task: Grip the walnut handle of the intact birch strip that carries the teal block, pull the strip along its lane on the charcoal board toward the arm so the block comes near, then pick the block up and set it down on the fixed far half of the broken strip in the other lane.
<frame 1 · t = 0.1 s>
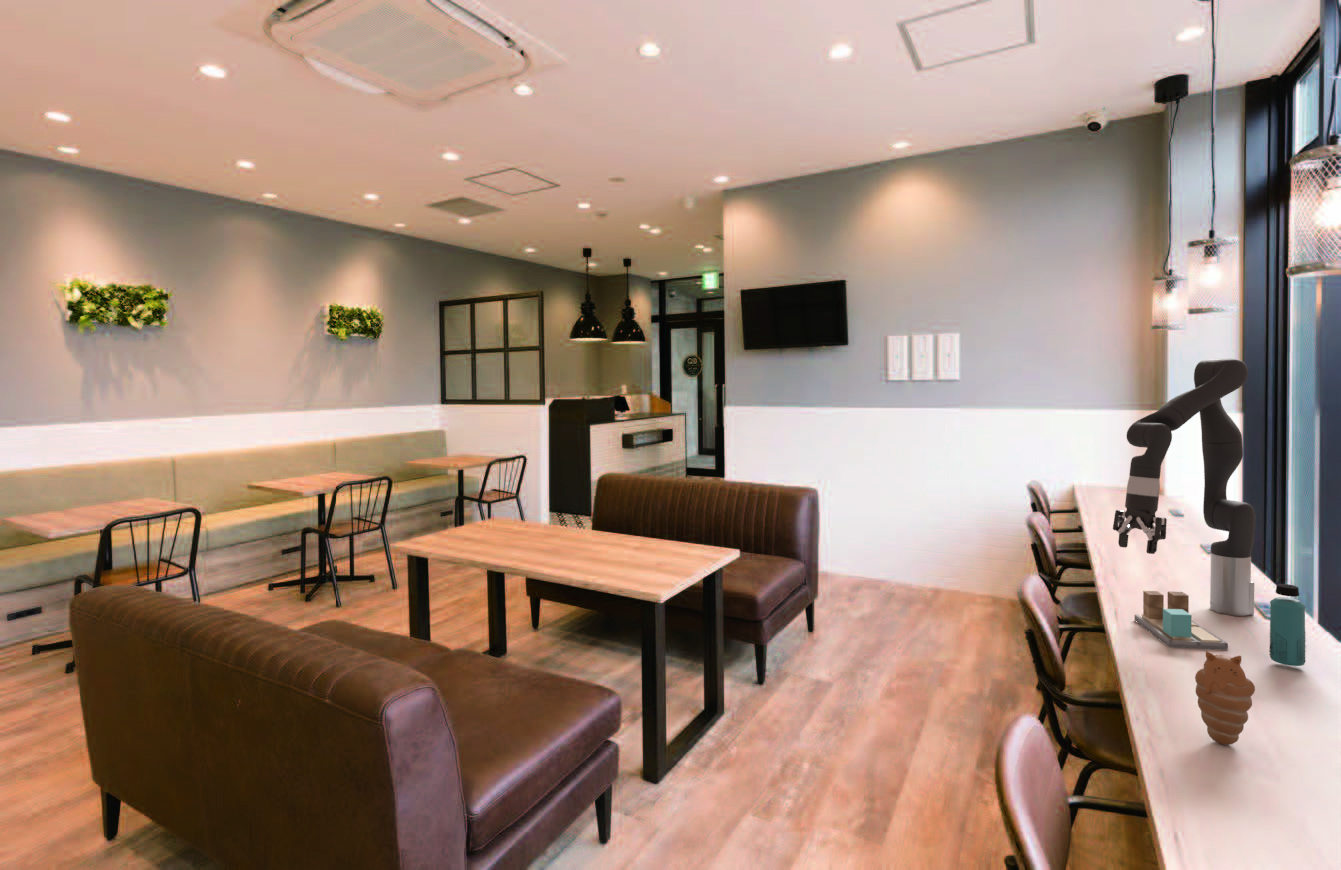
hand: (1136, 550, 189), 22 cm above the counter, tool pointing down, fingers open, 8 cm apart
teal cube: (1176, 633, 178), point 2 cm above the counter, touching cube strip
cat ice cream: (1223, 744, 129), on the counter
beverage bottle: (1286, 667, 161), on the counter
short strip: (1180, 609, 188), point 5 cm above the counter, slide at 0.0 cm
cube strip: (1165, 615, 184), point 5 cm above the counter, slide at 0.0 cm, touching teal cube
lane board: (1178, 634, 183), on the counter
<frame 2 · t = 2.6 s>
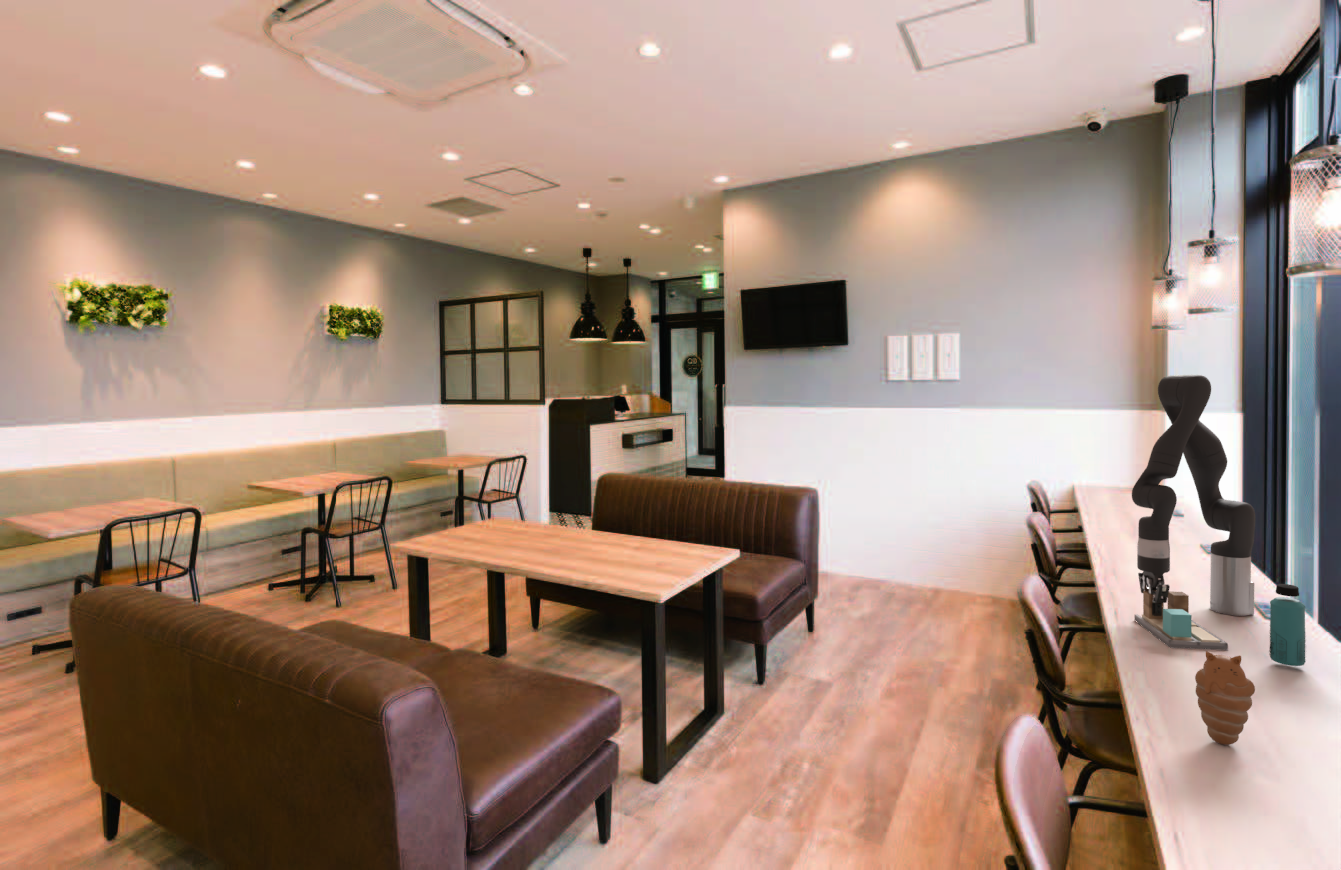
hand: (1153, 612, 191), 4 cm above the counter, tool pointing down, fingers closed on cube strip, 3 cm apart
cube strip: (1165, 615, 184), point 5 cm above the counter, slide at 0.0 cm, touching gripper, teal cube
everything else where it was.
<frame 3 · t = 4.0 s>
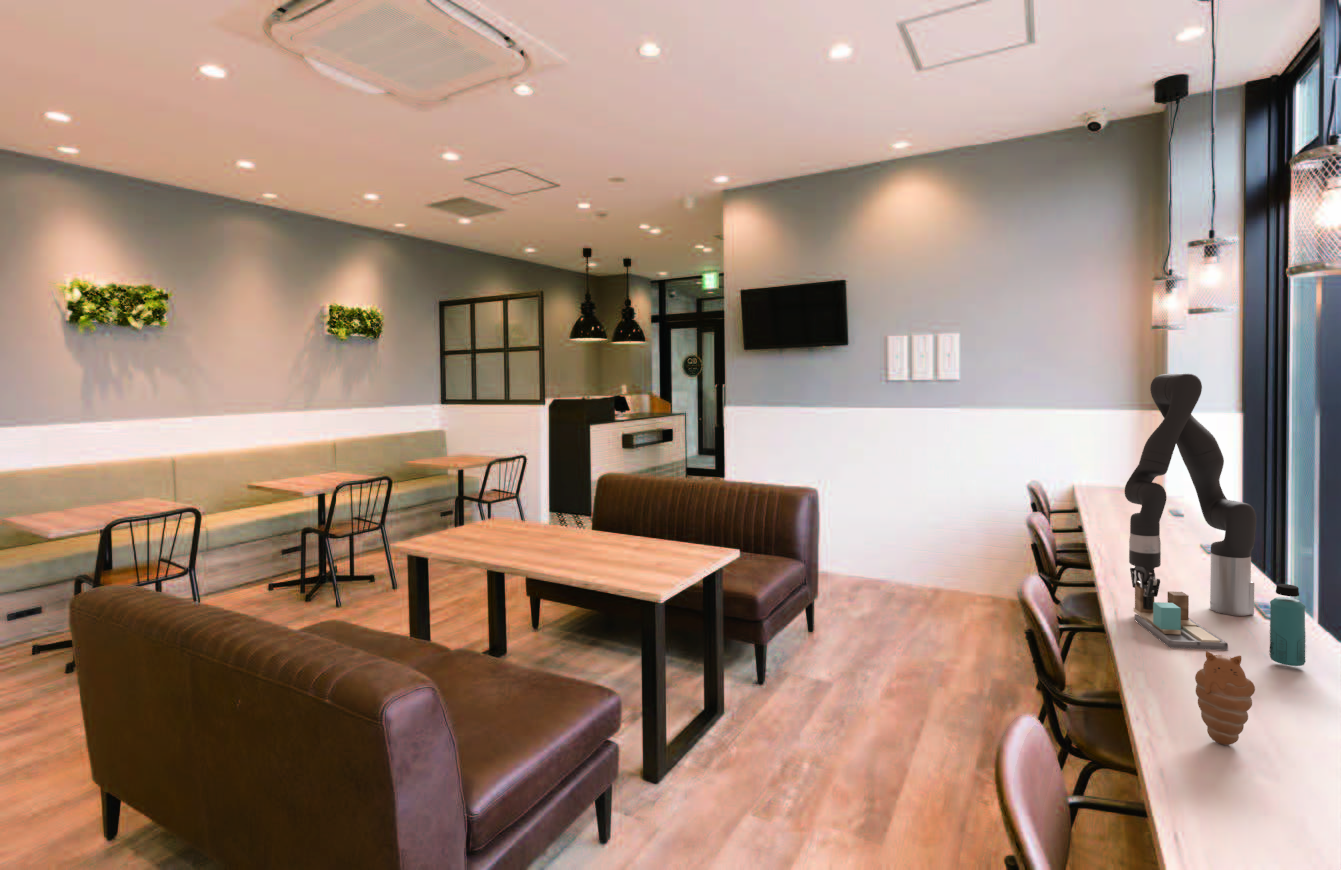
hand: (1144, 606, 196), 4 cm above the counter, tool pointing down, fingers closed on cube strip, 3 cm apart
teal cube: (1166, 626, 183), point 2 cm above the counter, touching cube strip
cube strip: (1156, 608, 189), point 5 cm above the counter, slide at 5.6 cm, touching gripper, teal cube
everything else where it was.
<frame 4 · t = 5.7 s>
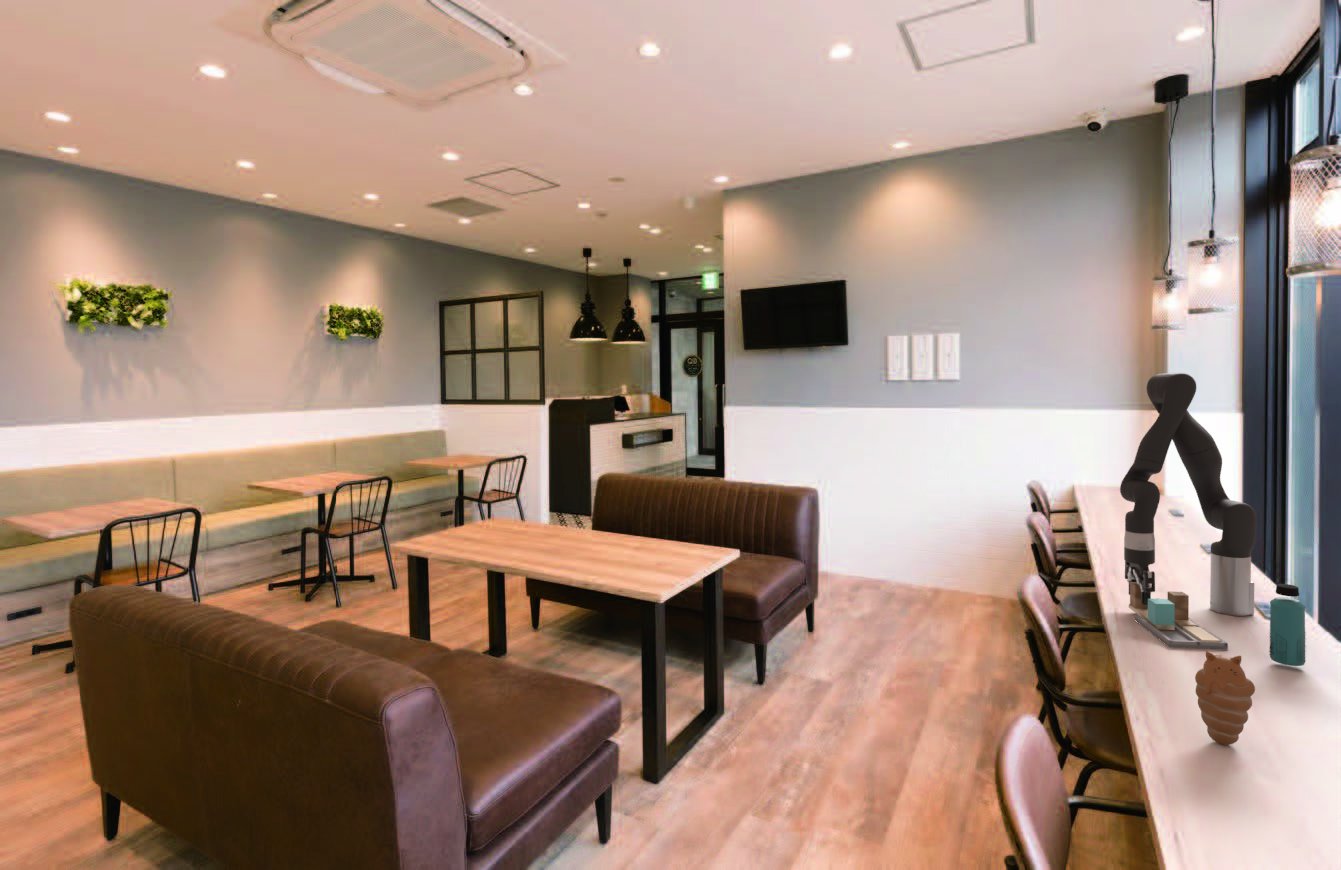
hand: (1139, 599, 200), 4 cm above the counter, tool pointing down, fingers open, 8 cm apart
teal cube: (1160, 622, 187), point 2 cm above the counter, touching cube strip
cube strip: (1150, 604, 193), point 5 cm above the counter, slide at 8.9 cm, touching teal cube
everything else where it was.
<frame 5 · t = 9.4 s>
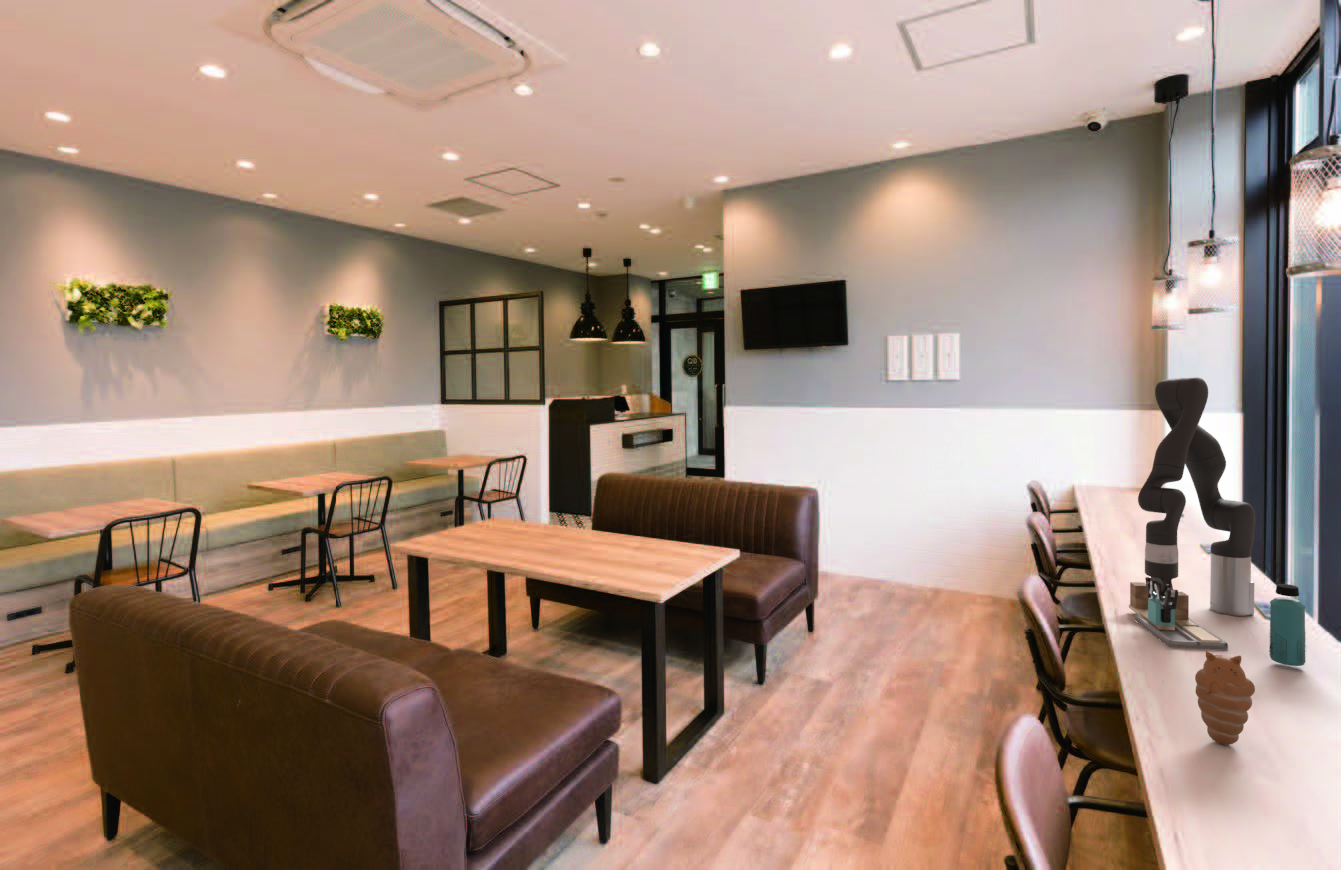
hand: (1161, 618, 186), 3 cm above the counter, tool pointing down, fingers closed on teal cube, 4 cm apart
teal cube: (1161, 622, 186), point 2 cm above the counter, touching cube strip, gripper
everything else where it was.
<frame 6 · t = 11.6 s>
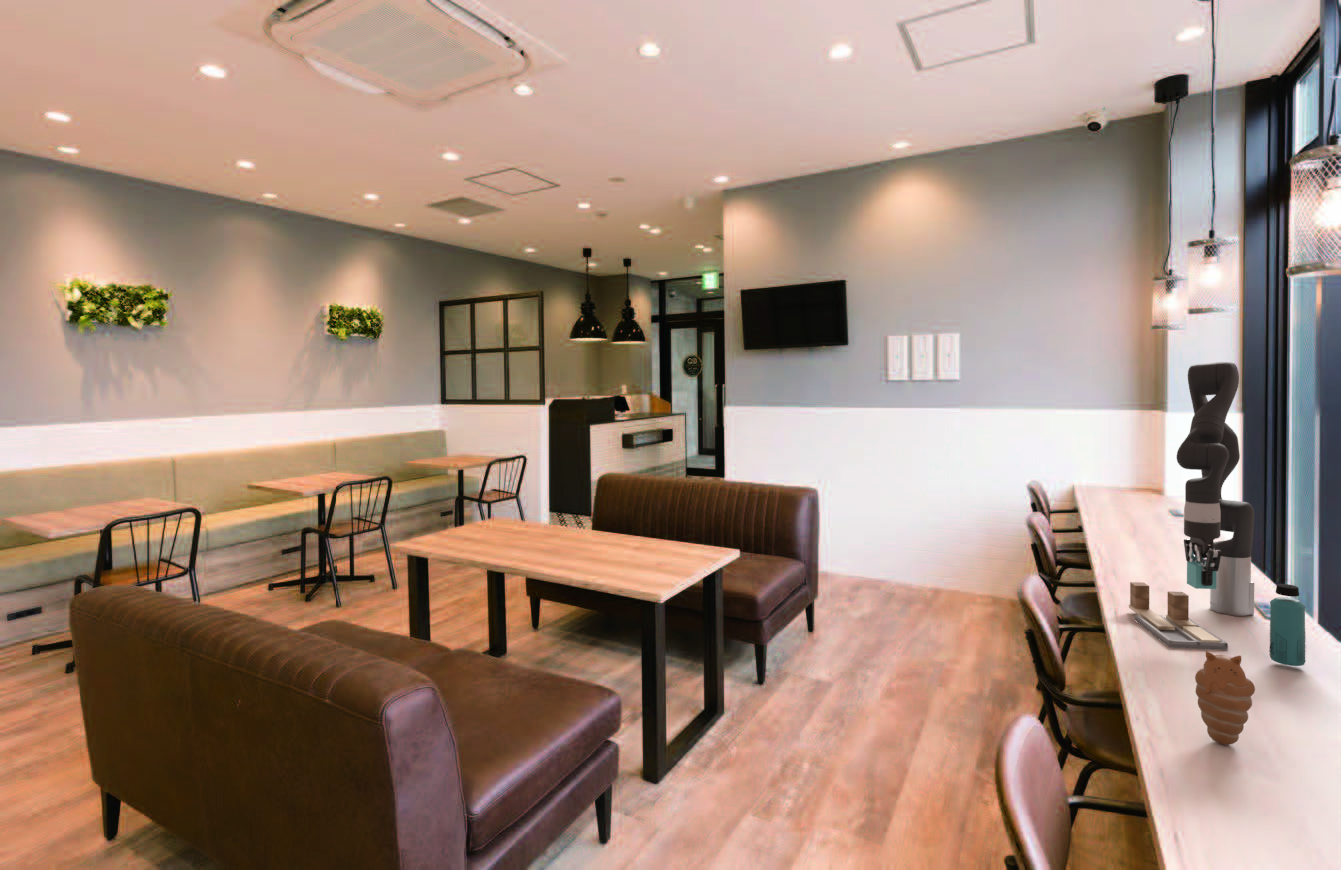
hand: (1201, 582, 177), 16 cm above the counter, tool pointing down, fingers closed on teal cube, 4 cm apart
teal cube: (1201, 586, 177), point 15 cm above the counter, touching gripper
cube strip: (1150, 604, 192), point 5 cm above the counter, slide at 8.8 cm
everything else where it was.
when the fingers open (4 cm above the counter, at t = 14.2 s): teal cube stays where it is, resting on lane board.
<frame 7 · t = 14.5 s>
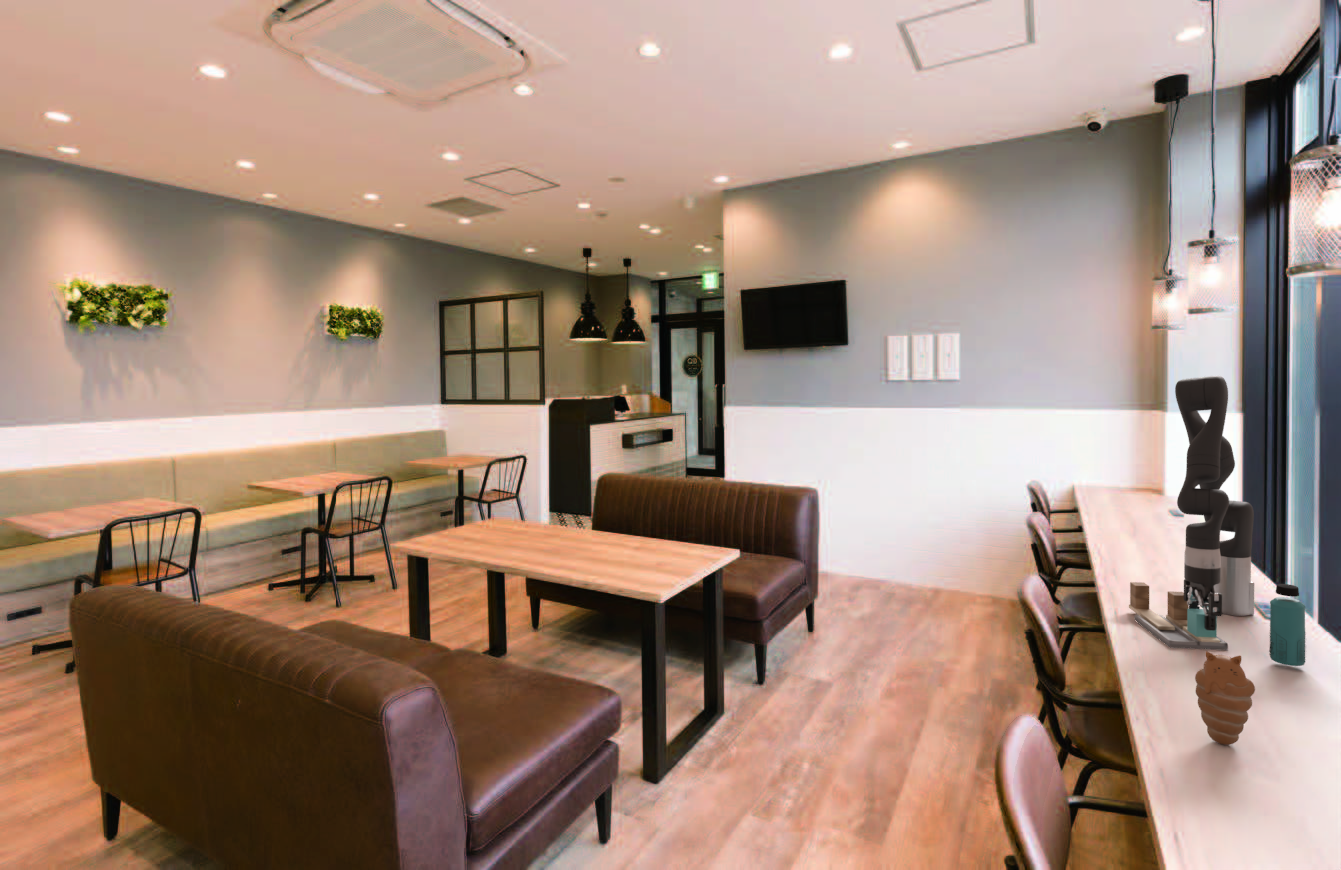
hand: (1201, 624, 177), 5 cm above the counter, tool pointing down, fingers open, 7 cm apart
teal cube: (1201, 633, 177), point 2 cm above the counter, touching lane board
everything else where it was.
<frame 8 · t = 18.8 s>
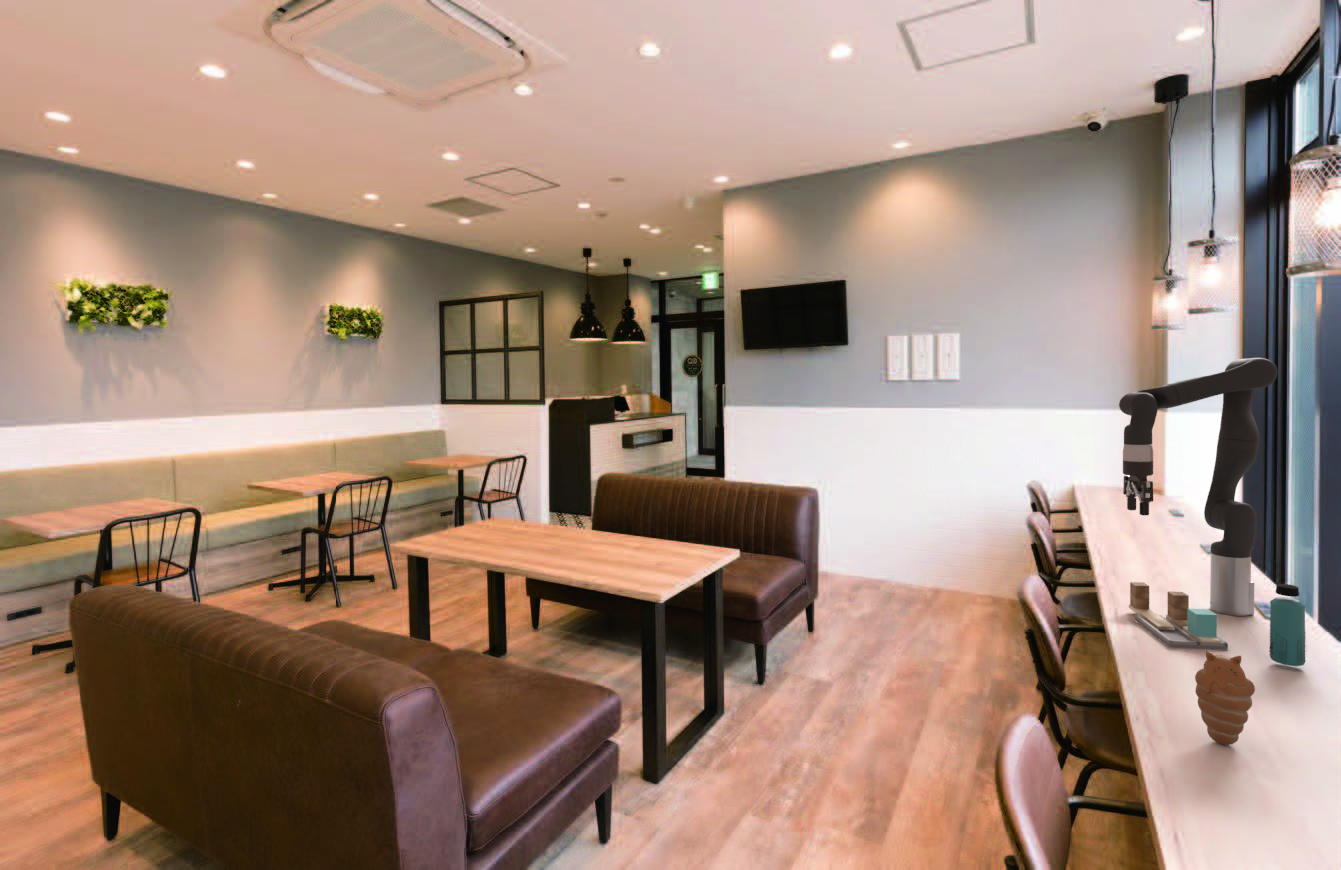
hand: (1137, 512, 201), 30 cm above the counter, tool pointing down, fingers open, 8 cm apart
nothing on the counter moved.
at the end: cube strip slide at 8.8 cm; teal cube inside the target area (0.5 cm from its centre), point 2.3 cm above the counter; the gripper is holding nothing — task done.
